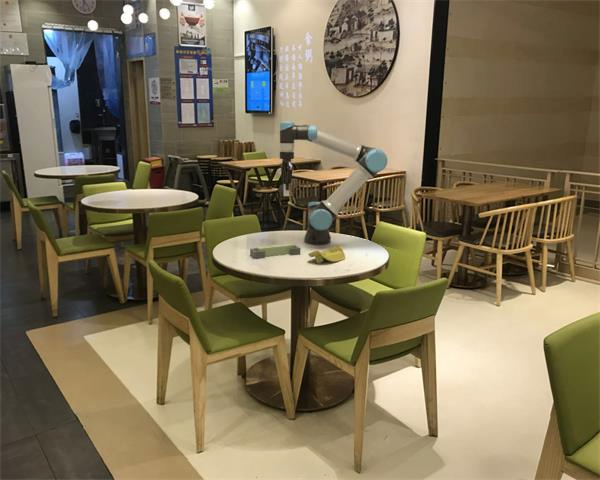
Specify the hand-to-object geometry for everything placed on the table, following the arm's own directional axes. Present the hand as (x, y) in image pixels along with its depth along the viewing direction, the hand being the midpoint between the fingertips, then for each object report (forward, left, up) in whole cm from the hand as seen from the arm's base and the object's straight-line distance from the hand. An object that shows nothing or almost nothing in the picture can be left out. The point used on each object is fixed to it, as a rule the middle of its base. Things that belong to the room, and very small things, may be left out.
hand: (286, 195), depth 276 cm
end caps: (+11, +13, -28) cm, 33 cm away
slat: (+11, +13, -29) cm, 33 cm away
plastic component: (-9, +31, -29) cm, 43 cm away
